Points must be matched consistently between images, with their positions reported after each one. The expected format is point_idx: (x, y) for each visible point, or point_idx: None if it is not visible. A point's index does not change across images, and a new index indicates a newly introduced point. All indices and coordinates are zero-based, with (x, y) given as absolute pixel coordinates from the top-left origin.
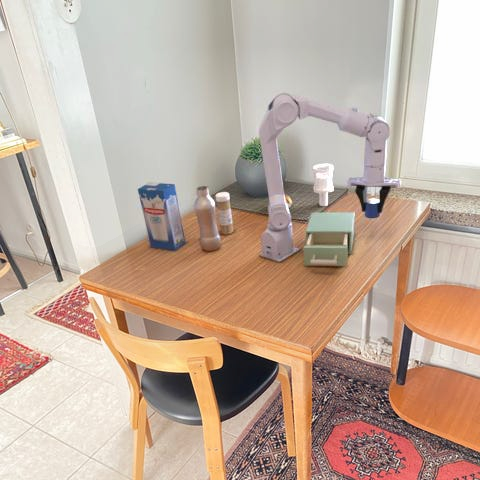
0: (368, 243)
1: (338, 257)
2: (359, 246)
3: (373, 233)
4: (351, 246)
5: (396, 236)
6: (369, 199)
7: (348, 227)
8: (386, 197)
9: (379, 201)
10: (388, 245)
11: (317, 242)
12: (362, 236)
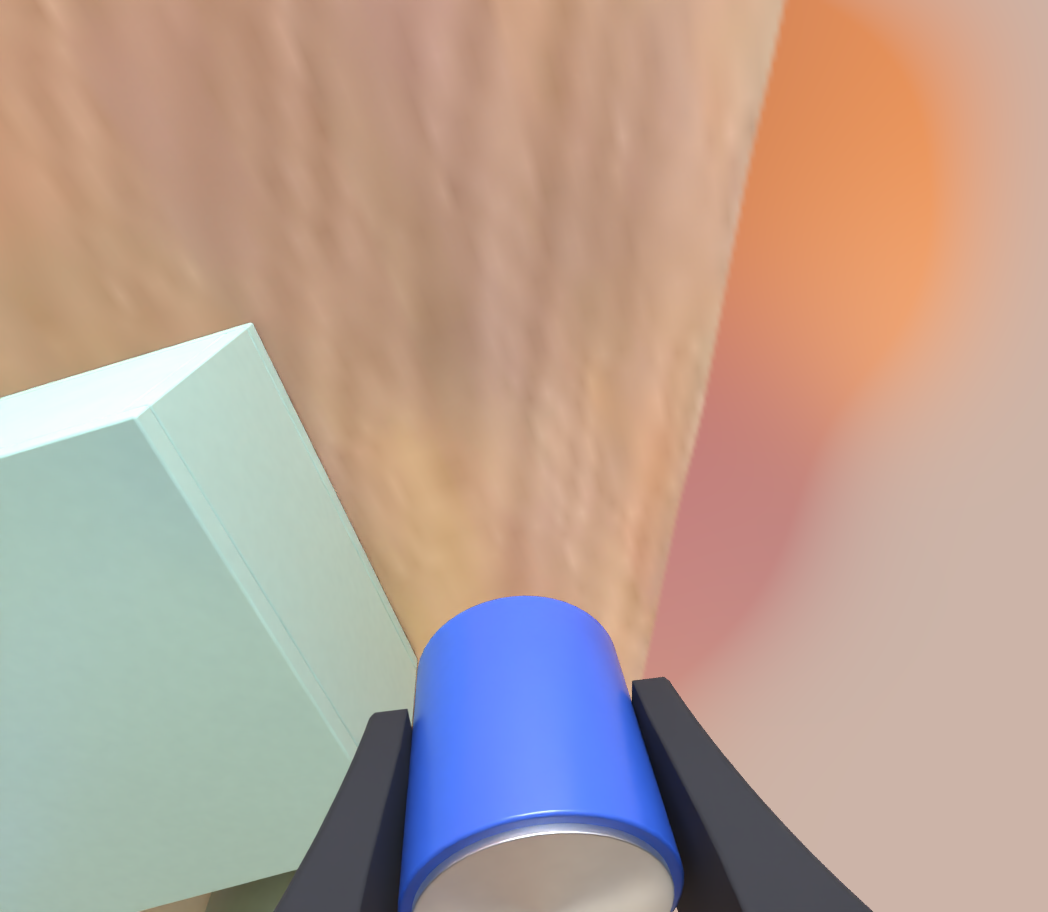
0: (475, 473)
1: None
2: (425, 542)
3: (443, 249)
4: (410, 696)
5: (685, 254)
6: (457, 892)
7: (329, 797)
8: (823, 881)
9: (673, 894)
10: (646, 457)
11: None
12: (365, 355)
